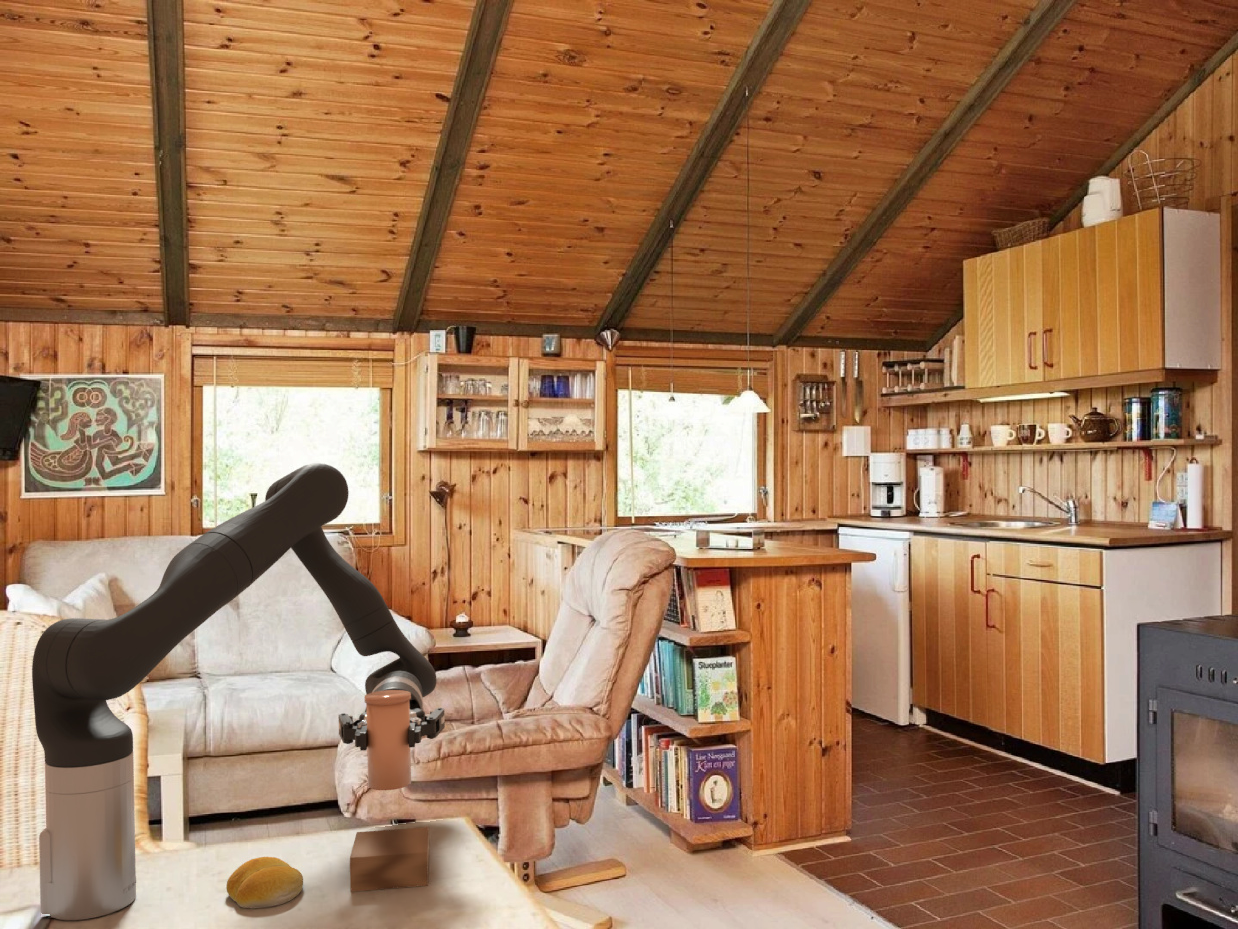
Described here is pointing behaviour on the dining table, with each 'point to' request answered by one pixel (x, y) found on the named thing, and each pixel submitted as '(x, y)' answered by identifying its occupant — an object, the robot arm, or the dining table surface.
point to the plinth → (390, 859)
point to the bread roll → (264, 883)
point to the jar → (388, 739)
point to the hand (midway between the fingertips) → (387, 740)
